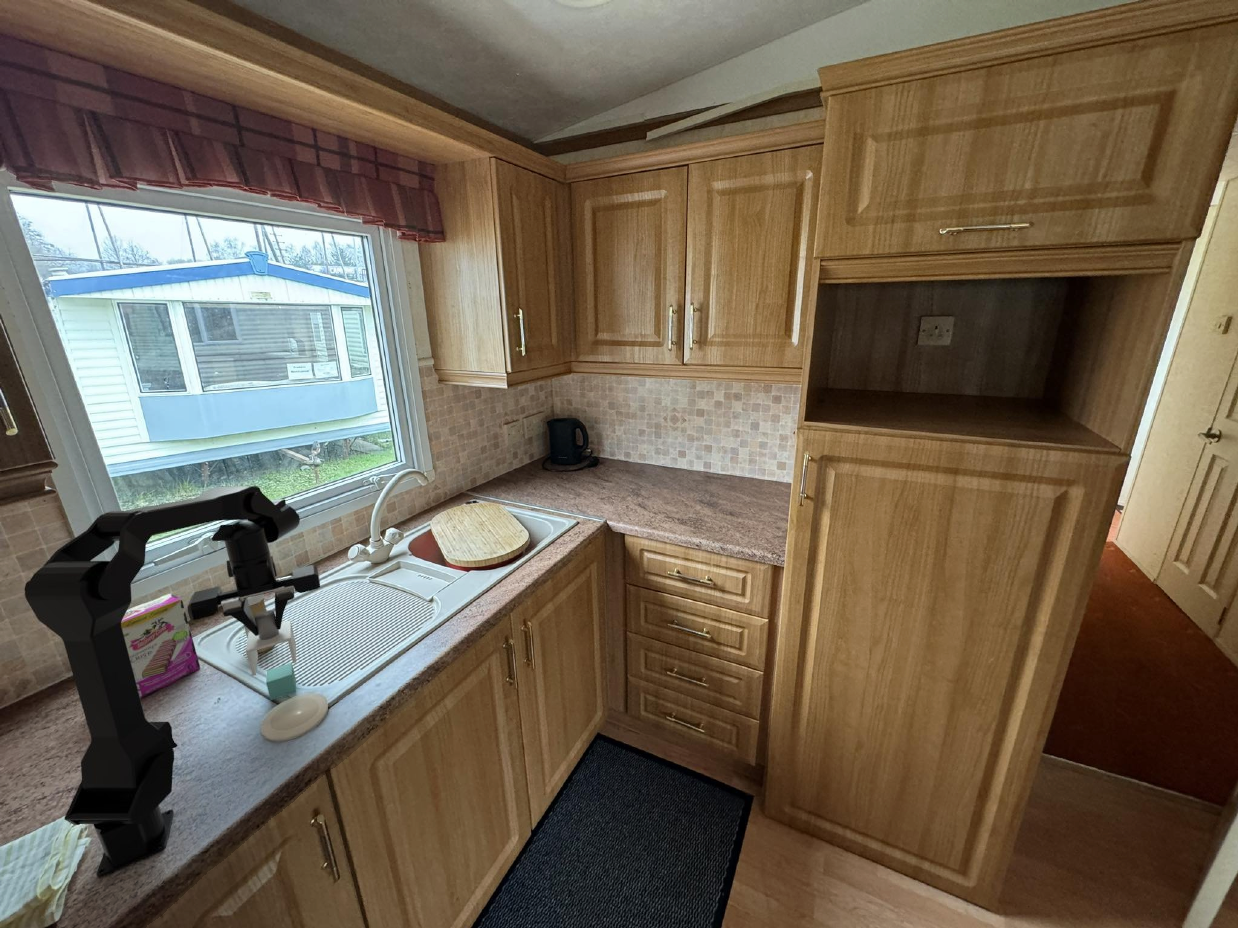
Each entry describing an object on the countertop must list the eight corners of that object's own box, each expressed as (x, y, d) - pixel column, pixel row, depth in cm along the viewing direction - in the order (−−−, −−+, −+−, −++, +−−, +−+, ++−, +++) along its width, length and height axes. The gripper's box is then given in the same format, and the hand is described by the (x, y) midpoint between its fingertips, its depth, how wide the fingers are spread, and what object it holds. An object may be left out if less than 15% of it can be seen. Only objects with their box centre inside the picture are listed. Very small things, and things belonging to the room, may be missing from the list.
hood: (296, 662, 90) (285, 617, 87) (252, 676, 87) (240, 630, 84) (295, 643, 95) (286, 601, 93) (254, 656, 92) (243, 612, 89)
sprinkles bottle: (272, 638, 108) (259, 584, 105) (277, 647, 105) (264, 592, 102) (247, 648, 105) (233, 593, 102) (252, 657, 102) (237, 601, 99)
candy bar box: (131, 705, 89) (105, 628, 85) (119, 697, 92) (92, 621, 87) (203, 668, 99) (182, 597, 95) (190, 661, 101) (169, 591, 97)
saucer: (330, 724, 84) (329, 718, 84) (260, 751, 79) (258, 745, 79) (327, 690, 92) (325, 685, 92) (263, 712, 87) (261, 707, 87)
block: (296, 691, 92) (292, 674, 91) (270, 700, 90) (266, 682, 89) (295, 679, 96) (291, 662, 94) (271, 687, 93) (267, 670, 92)
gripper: (310, 527, 96) (324, 596, 101) (188, 551, 87) (209, 626, 91) (312, 547, 87) (327, 622, 92) (176, 576, 78) (200, 659, 82)
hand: (268, 631), depth 89 cm, fingers closed on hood, 3 cm apart
